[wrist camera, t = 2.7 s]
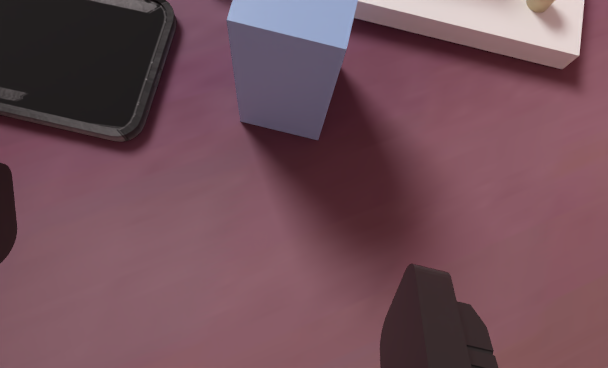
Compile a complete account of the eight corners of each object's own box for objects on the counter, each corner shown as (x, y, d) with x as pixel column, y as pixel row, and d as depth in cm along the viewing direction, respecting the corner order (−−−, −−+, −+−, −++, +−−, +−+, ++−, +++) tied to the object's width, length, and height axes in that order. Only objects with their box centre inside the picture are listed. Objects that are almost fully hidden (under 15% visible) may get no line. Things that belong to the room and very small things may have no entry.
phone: (-111, -67, 25) (179, 1, 25) (-96, -52, 26) (182, 13, 26) (-184, 70, 23) (132, 143, 23) (-164, 81, 24) (138, 150, 24)
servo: (240, 121, 25) (224, 1, 15) (262, 43, 26) (260, -115, 16) (317, 140, 25) (351, 32, 15) (336, 61, 26) (378, -86, 16)
